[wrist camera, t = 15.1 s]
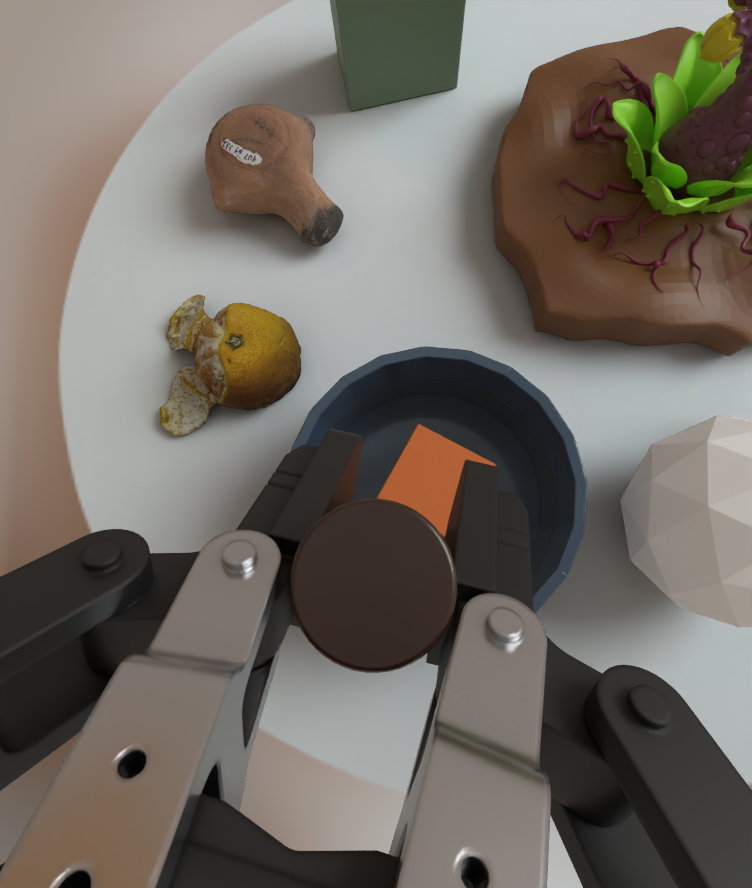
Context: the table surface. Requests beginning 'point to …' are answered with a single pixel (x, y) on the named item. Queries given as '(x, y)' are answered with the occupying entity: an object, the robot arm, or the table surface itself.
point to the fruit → (228, 362)
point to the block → (428, 475)
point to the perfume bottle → (696, 518)
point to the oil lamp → (270, 170)
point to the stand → (397, 48)
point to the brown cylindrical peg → (373, 585)
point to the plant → (636, 188)
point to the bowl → (467, 438)
